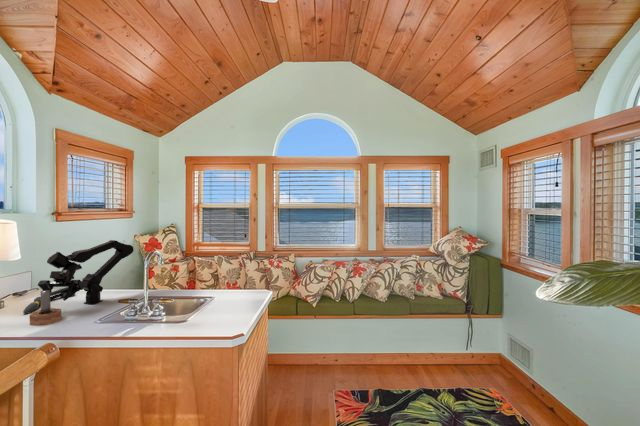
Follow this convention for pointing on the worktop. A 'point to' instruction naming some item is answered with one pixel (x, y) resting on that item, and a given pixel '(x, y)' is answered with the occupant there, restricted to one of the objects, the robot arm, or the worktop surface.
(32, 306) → the paintbrush
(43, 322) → the bead
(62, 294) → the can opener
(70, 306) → the worktop surface
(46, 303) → the brushed steel cylinder
